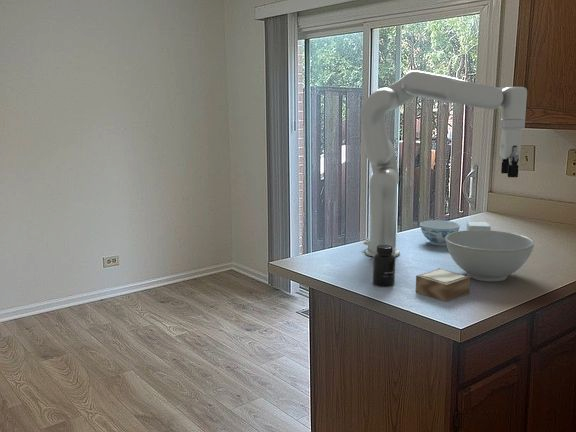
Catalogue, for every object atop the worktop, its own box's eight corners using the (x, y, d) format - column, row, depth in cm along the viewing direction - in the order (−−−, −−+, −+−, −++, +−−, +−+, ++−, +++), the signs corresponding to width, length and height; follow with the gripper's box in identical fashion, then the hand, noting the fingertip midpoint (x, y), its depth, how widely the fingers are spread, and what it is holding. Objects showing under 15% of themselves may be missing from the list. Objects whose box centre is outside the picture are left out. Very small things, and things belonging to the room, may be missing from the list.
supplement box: (489, 261, 201) (491, 226, 198) (467, 260, 202) (468, 225, 200) (486, 255, 208) (488, 221, 205) (465, 255, 209) (466, 221, 207)
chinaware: (412, 240, 231) (413, 222, 229) (444, 237, 235) (445, 219, 234) (432, 249, 217) (433, 230, 215) (466, 246, 222) (467, 226, 220)
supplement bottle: (389, 288, 175) (390, 250, 172) (369, 284, 178) (369, 247, 176) (398, 282, 180) (399, 245, 178) (377, 278, 184) (378, 242, 181)
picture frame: (415, 291, 171) (416, 275, 170) (439, 284, 178) (439, 267, 177) (446, 301, 163) (446, 284, 162) (469, 293, 169) (470, 276, 168)
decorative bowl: (480, 259, 203) (482, 226, 201) (549, 278, 181) (552, 241, 179) (426, 272, 189) (427, 237, 187) (494, 295, 167) (496, 255, 165)
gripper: (495, 123, 201) (492, 171, 204) (506, 125, 184) (503, 178, 188) (518, 123, 200) (514, 172, 203) (531, 125, 183) (527, 178, 187)
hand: (509, 175), depth 196 cm, fingers open, 9 cm apart
